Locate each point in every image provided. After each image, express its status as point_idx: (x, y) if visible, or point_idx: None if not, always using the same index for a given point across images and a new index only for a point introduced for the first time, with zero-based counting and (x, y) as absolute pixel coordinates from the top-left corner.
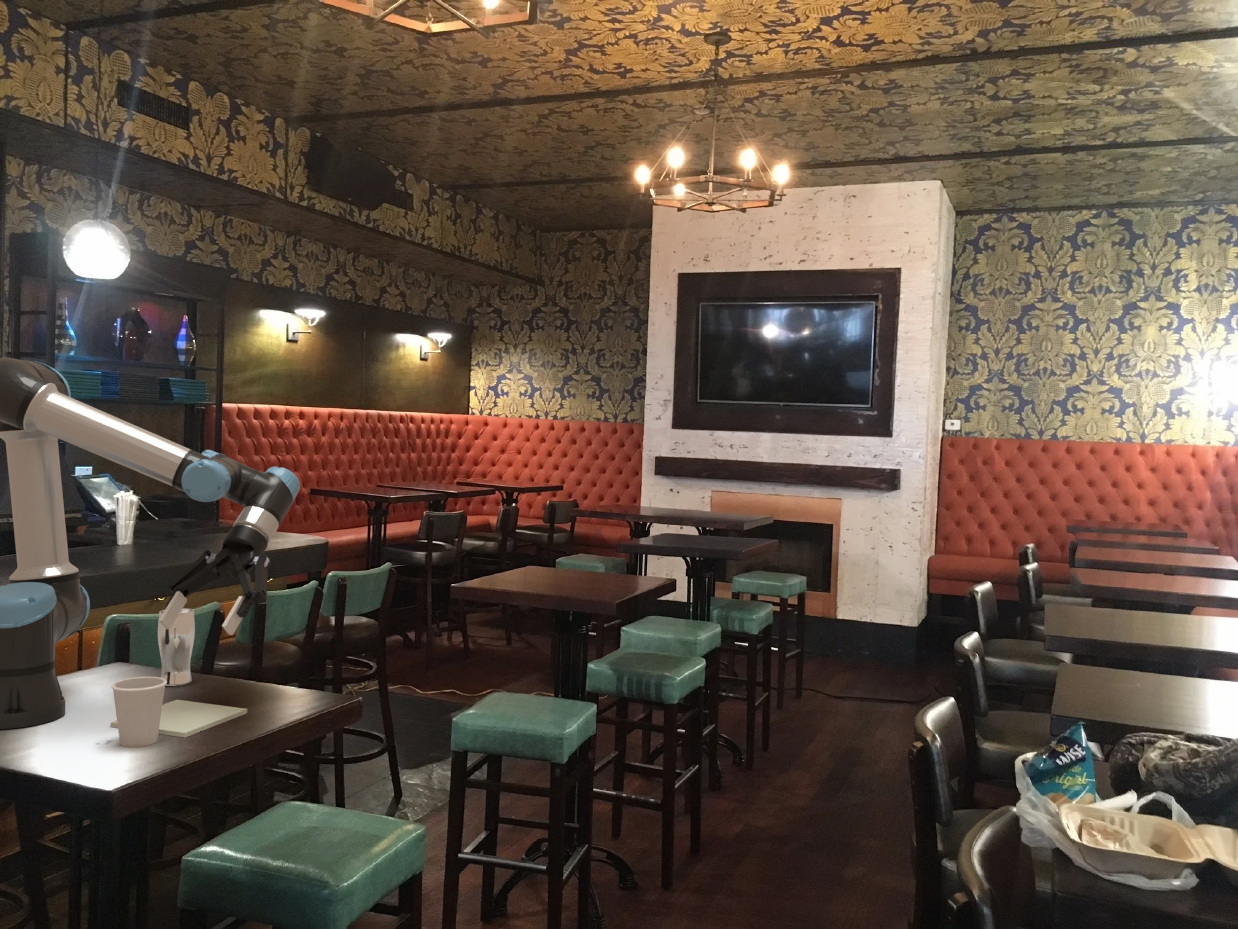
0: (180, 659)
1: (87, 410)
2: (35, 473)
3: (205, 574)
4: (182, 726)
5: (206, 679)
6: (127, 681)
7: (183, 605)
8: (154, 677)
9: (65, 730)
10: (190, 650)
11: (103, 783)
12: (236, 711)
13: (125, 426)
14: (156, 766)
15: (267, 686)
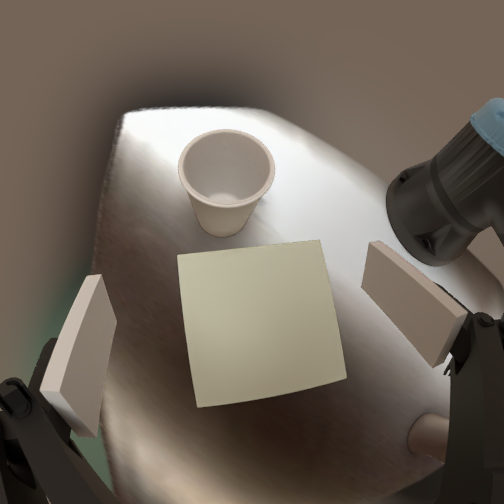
0: (437, 439)
1: None
2: None
3: (478, 451)
4: (208, 277)
5: (406, 473)
6: (268, 173)
7: (416, 345)
8: (237, 201)
9: (347, 206)
10: (441, 458)
11: (143, 118)
12: (200, 386)
13: None
14: (127, 166)
15: None
